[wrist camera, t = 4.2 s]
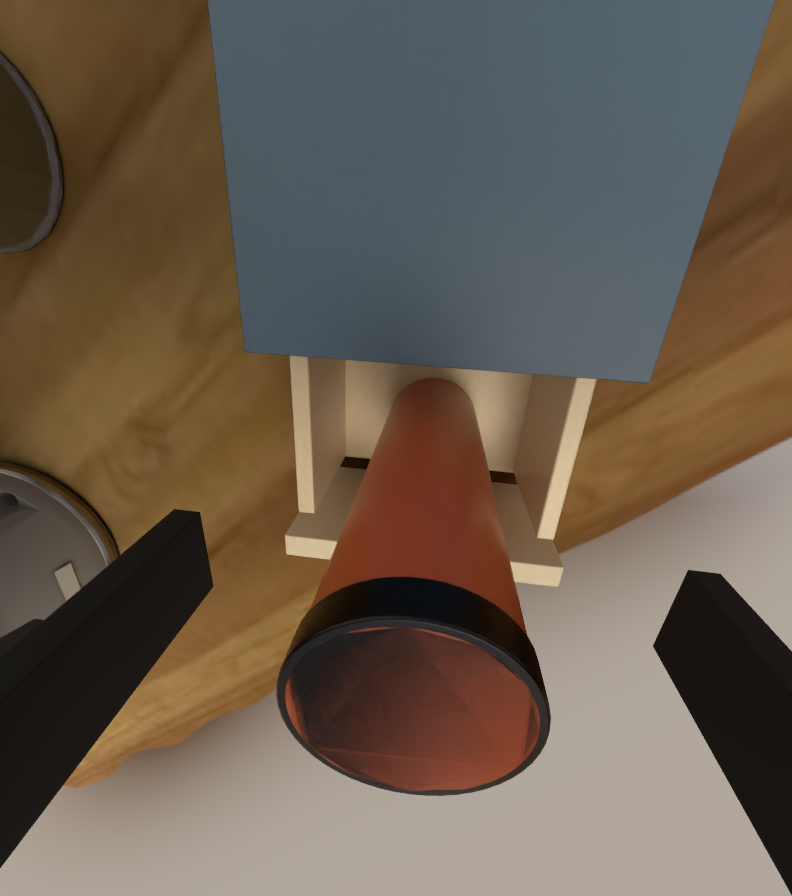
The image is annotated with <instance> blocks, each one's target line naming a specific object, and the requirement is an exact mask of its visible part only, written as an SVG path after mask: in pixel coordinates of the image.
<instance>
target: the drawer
mask: <svg viewBox="0 0 792 896" xmlns="http://www.w3.org/2000/svg"><path fill="white" fill-rule="evenodd" d="M290 372H291V389H292V406H293V422H294V439H295V456H296V473H297V490H298V507H299V513H298V515H297V517H296V518H295V520H294V522H293V523H292V525H291V526H290V528H289V530H288V531H287V533H286V535H285V542H286V554H288V555H297V556H305V557H313V558H322V559H331V557H332V554H333V552H334V549H335V547H336V544H337V542H338V539H339V537H340V534H341V532H342V529H343V527H344V524H345V522H346V519H347V517H348V514H349V512H350V509H351V507H352V504H353V502H354V499H355V497H356V494H357V492H358V489H359V487H360V484H361V482H362V480H363V477H364V475H365V472H366V470H367V469H357V468H347V467H340V465H341V464H342V462H343V460H344V458H345V456H347V457H357V458H368V459H371V457H372V455H373V452H374V450H375V447H376V445H377V442H378V440H379V437H380V435H381V432H382V430H383V427H384V425H385V422H386V420H387V417H388V415H389V412H390V410H391V407H392V405H393V403H394V401H395V399H396V397H397V396H398V394H399V393H400V392H401V391H402V390H403V389H404V388H405V387H407V386H408V385H410V384H411V383H413V382H415V381H418V380H421V379H426V378H440V379H445V380H448V381H450V382H452V383H455V384H456V385H458V386H459V387H460V388H462V389H463V390H464V391H465V392H466V393H467V395H468V396H469V397H470V399H471V401H472V403H473V406H474V409H475V413H476V417H477V421H478V426H479V430H480V434H481V439H482V443H483V447H484V452H485V456H486V460H487V465H488V469H489V470H490V471H500V472H511V473H514V475H515V478H516V481H517V484H518V485H516V484H506V483H496V482H492V486H493V490H494V495H495V499H496V503H497V508H498V512H499V516H500V521H501V525H502V529H503V534H504V538H505V542H506V547H507V551H508V555H509V560H510V564H511V568H512V572H513V577H514V581H515V582H521V583H530V584H538V585H546V586H555V587H558V585H559V583H560V579H561V576H562V572H563V569H564V567H563V565H562V563H561V560H560V557H559V555H558V553H557V550H556V548H555V545H554V543H553V539H554V536H555V532H556V529H557V525H558V521H559V517H560V514H561V510H562V506H563V503H564V499H565V495H566V492H567V488H568V484H569V480H570V477H571V473H572V469H573V466H574V462H575V458H576V454H577V451H578V447H579V443H580V440H581V436H582V432H583V429H584V425H585V421H586V417H587V414H588V410H589V406H590V403H591V399H592V395H593V392H594V388H595V384H596V380H597V379H587V378H574V377H561V376H548V375H535V374H522V373H509V372H496V371H483V370H470V369H457V368H445V367H432V366H419V365H406V364H393V363H380V362H367V361H354V360H341V359H328V358H315V357H302V356H290Z"/></svg>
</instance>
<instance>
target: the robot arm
mask: <svg viewBox="0 0 792 896" xmlns="http://www.w3.org/2000/svg"><path fill="white" fill-rule="evenodd" d="M212 588H213V581H212V576H211V570H210V565H209V560H208V554H207V549H206V543H205V538H204V532H203V527H202V522H201V516H200V512H194V511H185V510H177V509H174V510H173V511H172V512H171V513H169V514H168V515H167V516H166V517H165V518H164V519H162V520H161V521H160V522H159V523H158V524H156V525H155V526H154V527H153V528H152V529H151V530H149V531H148V532H147V533H146V534H145V535H144V536H142V537H141V538H140V539H139V540H138V541H137V542H135V543H134V544H133V545H132V546H131V547H129V548H128V549H127V550H126V551H125V552H124V553H122V554H121V555H120V556H119V557H118V553H117V550H116V547H115V544H114V542H113V540H112V538H111V536H110V534H109V532H108V531H107V529H106V528H105V526H104V525H103V523H102V522H101V521H100V519H99V518H98V517H97V516H96V514H95V513H94V512H93V511H92V510H91V509H90V508H89V507H88V506H87V505H86V504H85V503H84V502H83V501H82V500H81V499H80V498H78V497H77V496H76V495H75V494H74V493H72V492H71V491H70V490H68V489H67V488H65V487H64V486H63V485H61V484H59V483H58V482H56V481H54V480H53V479H51V478H49V477H47V476H45V475H43V474H41V473H39V472H36V471H34V470H32V469H29V468H26V467H23V466H19V465H16V464H11V463H5V462H0V868H1V866H2V865H3V864H4V863H5V861H6V860H7V859H8V857H9V856H10V855H11V853H12V852H13V851H14V849H15V848H16V847H17V845H18V844H19V843H20V841H21V840H22V839H23V837H24V836H25V834H26V833H27V832H28V831H29V829H30V828H31V827H32V826H33V824H34V823H35V822H36V820H37V819H38V818H39V816H40V815H41V814H42V812H43V811H44V810H45V808H46V807H47V806H48V804H49V803H50V802H51V800H52V799H53V798H54V796H55V795H56V794H57V792H58V791H59V790H60V788H61V787H62V786H63V785H64V783H65V782H66V781H67V779H68V778H69V777H70V775H71V774H72V773H73V771H74V770H75V769H76V767H77V766H78V765H79V763H80V762H81V761H82V759H83V758H84V757H85V755H86V754H87V753H88V751H89V750H90V749H91V748H92V746H93V745H94V744H95V742H96V741H97V740H98V738H99V737H100V736H101V734H102V733H103V732H104V730H105V729H106V728H107V726H108V725H109V724H110V722H111V721H112V720H113V718H114V717H115V716H116V714H117V713H118V712H119V710H120V709H121V708H122V707H123V705H124V704H125V703H126V701H127V700H128V699H129V697H130V696H131V695H132V693H133V692H134V691H135V689H136V688H137V687H138V685H139V684H140V683H141V681H142V680H143V679H144V677H145V676H146V675H147V673H148V672H149V671H150V669H151V668H152V667H153V666H154V664H155V663H156V662H157V660H158V659H159V658H160V656H161V655H162V654H163V652H164V651H165V650H166V648H167V647H168V646H169V644H170V643H171V642H172V640H173V639H174V638H175V636H176V635H177V634H178V632H179V631H180V630H181V629H182V627H183V626H184V625H185V623H186V622H187V621H188V619H189V618H190V617H191V615H192V614H193V613H194V611H195V610H196V609H197V607H198V606H199V605H200V603H201V602H202V601H203V599H204V598H205V597H206V595H207V594H208V593H209V591H210V590H211V589H212ZM653 647H654V649H655V651H656V652H657V654H658V656H659V658H660V660H661V661H662V663H663V665H664V667H665V669H666V670H667V672H668V674H669V675H670V678H671V679H672V681H673V683H674V685H675V687H676V688H677V690H678V692H679V694H680V696H681V697H682V699H683V701H684V703H685V704H686V706H687V708H688V710H689V712H690V713H691V715H692V717H693V719H694V721H695V722H696V724H697V726H698V728H699V730H700V731H701V733H702V735H703V736H704V739H705V740H706V742H707V744H708V746H709V748H710V749H711V751H712V753H713V754H714V757H715V758H716V760H717V762H718V764H719V765H720V767H721V769H722V771H723V773H724V775H725V776H726V778H727V780H728V782H729V783H730V785H731V787H732V789H733V791H734V792H735V794H736V796H737V798H738V800H739V801H740V803H741V805H742V807H743V809H744V810H745V812H746V814H747V816H748V818H749V819H750V821H751V823H752V825H753V826H754V828H755V830H756V832H757V834H758V836H759V837H760V839H761V841H762V842H763V844H764V846H765V848H766V850H767V852H768V853H769V855H770V857H771V859H772V861H773V862H774V864H775V866H776V868H777V870H778V871H779V873H780V875H781V877H782V879H783V880H784V882H785V884H786V886H787V887H788V889H789V891H790V893H791V895H792V651H791V650H790V649H789V648H788V647H787V646H786V645H785V644H784V643H783V642H782V641H781V640H780V638H779V637H778V636H777V635H776V634H775V633H774V632H773V631H772V630H771V629H770V627H769V626H768V625H767V624H766V623H765V622H764V621H763V620H762V619H761V618H760V617H759V616H758V614H757V613H756V612H755V611H754V610H753V609H752V608H751V607H750V606H749V605H748V604H747V602H745V600H744V599H743V598H742V597H741V596H740V595H739V594H738V593H737V592H736V590H735V589H734V588H733V587H732V586H731V585H730V584H729V583H728V582H727V581H726V580H725V578H724V577H723V576H722V575H721V574H716V573H709V572H700V571H691V570H688V572H687V574H686V576H685V578H684V580H683V582H682V585H681V587H680V589H679V591H678V593H677V595H676V597H675V600H674V602H673V604H672V606H671V608H670V610H669V613H668V615H667V617H666V619H665V621H664V623H663V625H662V628H661V630H660V632H659V634H658V636H657V638H656V641H655V643H654V645H653Z"/></svg>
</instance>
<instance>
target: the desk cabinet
mask: <svg viewBox="0 0 792 896" xmlns="http://www.w3.org/2000/svg"><path fill="white" fill-rule="evenodd" d="M774 2H775V0H208V8H209V18H210V27H211V37H212V46H213V56H214V65H215V74H216V84H217V93H218V103H219V112H220V122H221V131H222V141H223V150H224V159H225V169H226V178H227V188H228V197H229V207H230V216H231V226H232V235H233V244H234V254H235V263H236V273H237V282H238V292H239V301H240V311H241V320H242V329H243V339H244V348H245V352H250V353H263V354H276V355H289V356H302V357H315V358H328V359H341V360H354V361H367V362H380V363H393V364H406V365H419V366H432V367H445V368H457V369H470V370H483V371H496V372H509V373H522V374H535V375H548V376H561V377H574V378H587V379H600V380H613V381H626V382H639V383H649V382H650V380H651V377H652V374H653V371H654V368H655V365H656V361H657V358H658V355H659V352H660V349H661V346H662V343H663V340H664V337H665V334H666V331H667V328H668V325H669V322H670V319H671V316H672V313H673V310H674V307H675V304H676V301H677V297H678V294H679V291H680V288H681V285H682V282H683V279H684V276H685V273H686V270H687V267H688V264H689V261H690V258H691V255H692V252H693V249H694V246H695V243H696V240H697V237H698V233H699V230H700V227H701V224H702V221H703V218H704V215H705V212H706V209H707V206H708V203H709V200H710V197H711V194H712V191H713V188H714V185H715V182H716V179H717V176H718V173H719V169H720V166H721V163H722V160H723V157H724V154H725V151H726V148H727V145H728V142H729V139H730V136H731V133H732V130H733V127H734V124H735V121H736V118H737V115H738V112H739V108H740V105H741V102H742V99H743V96H744V93H745V90H746V87H747V84H748V81H749V78H750V75H751V72H752V69H753V66H754V63H755V60H756V57H757V54H758V51H759V48H760V44H761V41H762V38H763V35H764V32H765V29H766V26H767V23H768V20H769V17H770V14H771V11H772V8H773V5H774Z"/></svg>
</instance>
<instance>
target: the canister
mask: <svg viewBox="0 0 792 896" xmlns="http://www.w3.org/2000/svg"><path fill="white" fill-rule="evenodd" d="M62 196H63V180H62V166H61V162H60V157H59V153H58V149H57V145H56V142H55V139H54V135H53V133H52V130H51V127H50V125H49V122H48V120H47V117H46V114H45V113H44V111H43V109H42V107H41V105H40V103H39V101H38V100H37V98H36V96H35V94H34V92H33V91H32V90H31V88H30V87H29V86H28V84H27V83H26V82H25V80H24V79H23V78H22V76H21V75H20V74H19V72H18V71H17V70H16V69H15V68H14V67H13V66H12V65H11V64H10V63H9V61H8V60H7V59H6V58H5V57H4V56H3V55H2V54H1V53H0V253H16V252H20V251H24V250H28V249H31V248H32V247H34V246H35V245H36V244H37V243H39V242H40V241H41V240H43V239H44V238H45V237H47V236H48V235H49V234H50V231H51V229H52V227H53V225H54V222H55V220H56V218H57V216H58V213H59V211H60V208H61V202H62Z"/></svg>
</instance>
